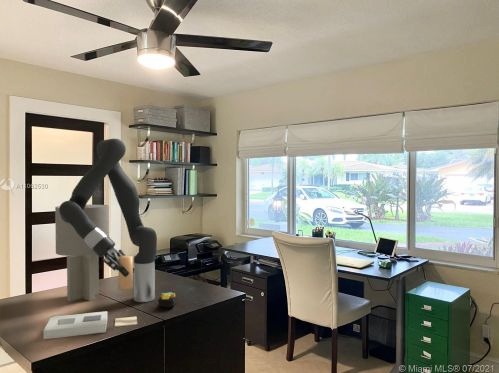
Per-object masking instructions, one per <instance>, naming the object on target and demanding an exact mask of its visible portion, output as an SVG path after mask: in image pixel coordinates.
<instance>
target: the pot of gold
mask: <svg viewBox="0 0 499 373" xmlns="http://www.w3.org/2000/svg"><path fill="white" fill-rule="evenodd" d="M177 299H178V294H176V293H175V292H162V293H161V295H160V297H159V298H158V299H157V302H158V306H160V307H162V308H163V309H164V308H169V309H170V308H171V307H172V306H174V305H176V303H177Z"/></svg>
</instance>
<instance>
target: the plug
mask: <svg viewBox="0 0 499 373" xmlns="http://www.w3.org/2000/svg"><path fill="white" fill-rule="evenodd" d="M119 259H120V263H121V264H122V265H123V266H124V267H125V268H126V269H127V270H128V271H129V275H128V276H126V277H124V276H123V275H122V274H121V273H120V272H119V271H118V290H121V291H126V290H127V291H128V290H132V289H134V271H133V268H134V257H133V256H132V255H126V256H120V257H119Z"/></svg>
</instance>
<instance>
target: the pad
mask: <svg viewBox="0 0 499 373" xmlns="http://www.w3.org/2000/svg"><path fill="white" fill-rule="evenodd" d="M137 325H138V318H137V316H129V317H118V318H115V320H114V327H115V328H118V327H127V326H129V327H130V326H137Z"/></svg>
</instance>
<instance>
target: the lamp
mask: <svg viewBox="0 0 499 373" xmlns="http://www.w3.org/2000/svg"><path fill="white" fill-rule="evenodd" d="M54 208H55V214H54V216H55V219H54V220H55V226H54V227H55V254H56V255H58V256H64V257H66V277H67V278H66V281H67V283H66V287H67V288H66V290H67V293H66V294H67V295H66V297H67V298H66V299H67V300H66V301H67V302H70V303H71V302H74V301H78V300H82V299H83V300H85V301H89V302H91V301H94V300H95V296H98V295H100V283H99V282H100V278H99V277H100V275H99V274H100V272H99V269H100V265H99V259H100V257H99V256H98V255H97V254H96V253H95V252H94V251H93V250H92V249H91V248H90V247H89V246H88V245H87V243H86V242H85V241H84V240H83V239H82V238H81V237H80V236H79V235H78V234H77V232H76V231H75V229H74V227H73V226H72V225H71V224H70V223H66V222H64V221H63V220H62V219H61V216H60V213H59V208H60V205H59V206H55V207H54ZM83 211H84V212H85V214H86V215H87V216H88V218H89V219H90V220H91V221H93V222H94V223H95V224H96V225H97V226H98V228H100V229H101V230H102V231H104V232H105V233H106V234H107V235H108V236H109V237H110V206H109V205H108V204H86V206H85V208H84V210H83Z"/></svg>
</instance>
